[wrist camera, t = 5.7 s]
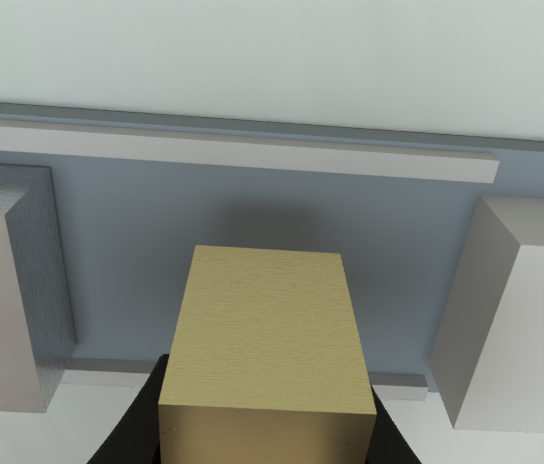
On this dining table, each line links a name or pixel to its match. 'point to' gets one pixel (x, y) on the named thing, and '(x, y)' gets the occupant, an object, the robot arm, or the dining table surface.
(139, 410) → the robot arm
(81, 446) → the dining table surface
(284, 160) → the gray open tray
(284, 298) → the wooden block
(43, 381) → the free jaw
